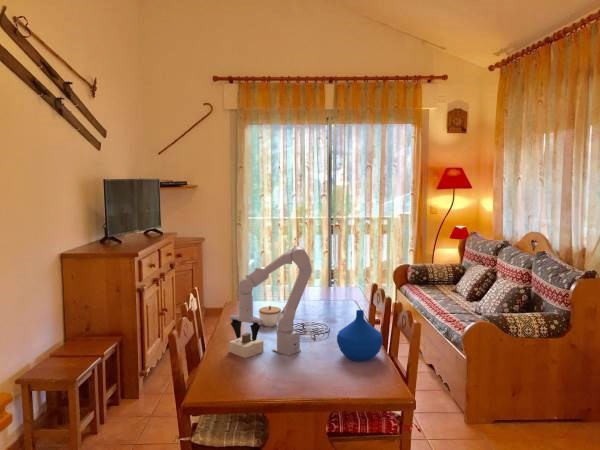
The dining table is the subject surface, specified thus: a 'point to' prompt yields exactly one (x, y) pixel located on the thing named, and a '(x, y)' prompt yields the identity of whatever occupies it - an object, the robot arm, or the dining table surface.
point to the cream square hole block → (245, 347)
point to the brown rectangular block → (246, 338)
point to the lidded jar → (269, 315)
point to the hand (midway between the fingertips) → (246, 339)
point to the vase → (359, 339)
